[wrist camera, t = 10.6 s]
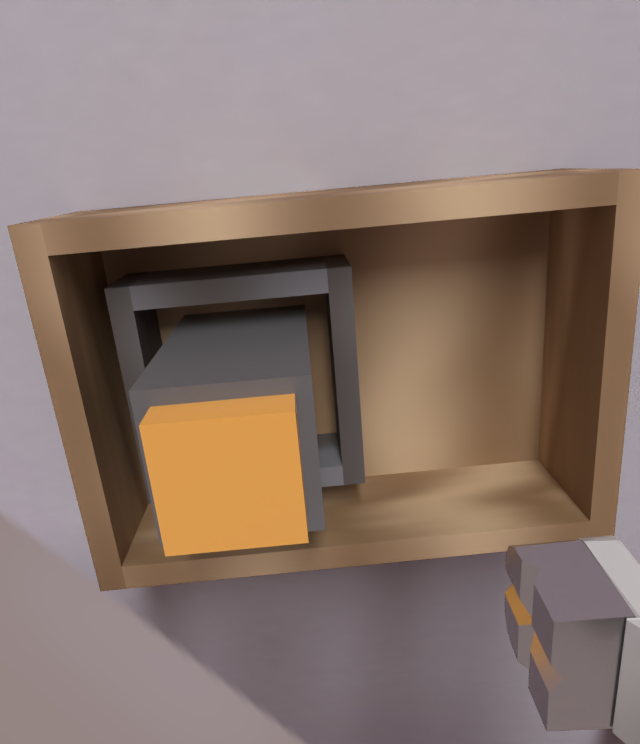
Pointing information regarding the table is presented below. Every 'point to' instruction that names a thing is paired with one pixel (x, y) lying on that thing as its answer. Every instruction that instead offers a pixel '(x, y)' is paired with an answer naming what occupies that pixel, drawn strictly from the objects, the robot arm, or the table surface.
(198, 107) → the table surface
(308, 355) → the block
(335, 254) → the box
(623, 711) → the robot arm
